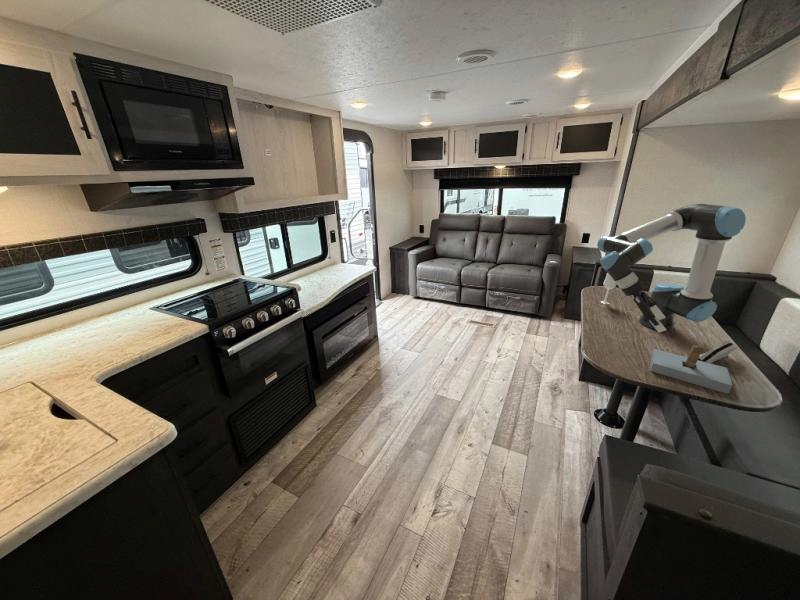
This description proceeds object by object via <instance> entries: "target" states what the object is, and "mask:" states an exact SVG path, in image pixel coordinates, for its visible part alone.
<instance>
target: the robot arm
mask: <svg viewBox="0 0 800 600" xmlns="http://www.w3.org/2000/svg"><path fill="white" fill-rule="evenodd" d="M746 218H747V217H746V214H745V212H744V211H743V210H742V209H741V208H738V207H735V206H729V205H717V204H707V203H696V204H695V203H694V204H691V205H690V204H689V205H686V206H683V207H679V208H676V209H674V210H670V211H669V212H667V213H665V214H664V215H663V216H662V217H659V218H657V219H654V220H651V221H649V222H646V223H643V224H642V225H639V226H636V227H634V228H631V229H629V230H626V231H624V232H621V233H619V234H616V235H613V236H611V235H603V236H602V237H600V238H599V240H598V242H597V245H596V246H597V249H598V250H599V251H600V252H603V253H605V254H606V255H604V256H603V257H601V258H600V260H599V263H600V265H601V266H602V268H603V270H605V272H606V273H608V274H609V275H610V276H611V277H612V279H613V280H614V281H615V282H616V283H615V285H616V286H618V287H619V288H620V289H621V291H622V293H623V294H624V295H625V297H631V296H633V302H635V305H636V306H637V307H638V309H639V311H640V312H641V315H640V316H639V318H638V322H639V323H640V324H641V325H643V326H644V327H647V328H650V329H654V330H656V331H657V332H658V334H659V333H662V332H666V331H667V332H668V331H672V330H673V329H674V328H675V315H677V316H680V317H682V318H684V319H686V320H688V321H691V322H694V323H701V322H704V321H706V320H708V319H710V317H711V316H713V315H714V313H715V312H716V311H717V307H718V305H717V303H716V302H715V301H713V297H714V295H713V293H712V292H711V288H712V285H713V283H714V279H715V276H716V272H717V270H718V267H719V264H720V260H721V258H722V254H723V252H724V248H725V245H726V243H727V242H729V241H730V240H732V239H733V237H735V236H737V235H739V234H740V233H741V230H743V229H744V227H745V225H746V221H747V219H746ZM680 230H691V231H695V233H696V234H695V238H696V239H697V240H698V243H697V245H696V246H697V247H696V250H695V252H694V257H693V261H692V264H691V266H690V267H691V268H690V271H689V274H688V278H687V282H686V285H685V287H684V286H682V285H679V284H675V283H665V282H663V283H657V284H656V285H654V286H653V289H652V292H651V295H650V296H649V294H647V293H646V292H645V291H644V289H645V285H644V284H643V283H642V281H641V280H639V277H638V276H637V275H636V273H635V272H634V271H633V270H632V269H631V267H632V266H634V265H635V264H636V263H638V262H640V261H641V260H643V259H645V258H646V257H647V256H648V255H650V254H651V253H652V252H653V250H654V247H653V245H652V243H651V242H650V240H652V239H654V238H656V237H659V236H661V235H665V234H666V233H670V232H678V231H680Z"/></svg>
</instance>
